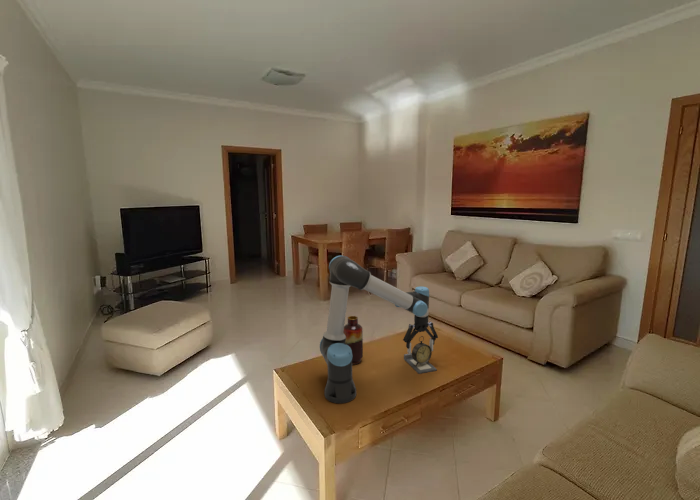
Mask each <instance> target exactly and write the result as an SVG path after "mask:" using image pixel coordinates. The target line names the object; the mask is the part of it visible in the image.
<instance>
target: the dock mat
mask: <svg viewBox="0 0 700 500" xmlns="http://www.w3.org/2000/svg"><path fill="white" fill-rule="evenodd" d="M403 360H404V361H405V362H406V363H407V364H408V365H409V366H410V367H411V368H412V369H413V370H414V371H415V372H416V373H417V374H418V375H421V374H425V373H431V372H436V371H437V370H438V369H437V368H436V367H435V366H434V365H433V364H432V363H430V362H429V361H428V362H429V363H428V362H427V363H425V364H419V363H418V365H417V366H416V364H417V362H416V361H415V360H414V359H413V357H412V352H411V355H410V354H408V353H404V354H403Z"/></svg>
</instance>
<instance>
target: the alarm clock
mask: <svg viewBox="0 0 700 500" xmlns="http://www.w3.org/2000/svg"><path fill="white" fill-rule="evenodd" d="M421 338H423V339H422V340H421ZM424 338H425V337H424V336H423V335H421V336H420V337H419V338H418V341H419V342H418V343H416V344H415V345H414V347H413V348H412V349H411V353H412V357H413V359H414V360H415V361H416V362H417V364H416V366H417V365H418V363H419V364H425V363H427V362H428V363H430V360H431V358H432V352H433V351H431V348H430V346H429V344H426V343H423V341H424V340H425V339H424Z"/></svg>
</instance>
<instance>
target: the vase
mask: <svg viewBox="0 0 700 500" xmlns="http://www.w3.org/2000/svg"><path fill="white" fill-rule="evenodd" d="M363 331H364V330H363V326H362V325H361V324H360V323H359V318H358V316H356V315H350V316H349V315H348V317H347V323H346V324H344V332H343V333H344V334H345V336H346V340H345V345H348V346H349V347H350V348H351V350H352V356H353V357H352V366H353V365H358V364H360V363H361V362H362V359H363V358H364V357H363V356H364V355H363V354H364V351H363V348H364V346H363V345H364V342H363V340H364V339H363V338H364V337H363Z"/></svg>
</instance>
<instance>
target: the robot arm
mask: <svg viewBox="0 0 700 500" xmlns="http://www.w3.org/2000/svg"><path fill="white" fill-rule="evenodd" d="M328 270H329V284H330V285H331V292H330V299H329V309H328V316H327V326H326V331H325V332H323V334H322V337H321V338H322V339H321V340H320V342H319V351H320V353H321V356H322V357H323V359H324V361H325V363H326V365H327V366H326V367H327V381H326V385H325V387H324V397H325V399H326V400H327V401H328V402H331V403H334V404H346V403H349V402H351V401H353V400H354V399H355V398H356V396H357V388H356V384H355V382H354V380H353V365H352V357H353V356H352V350H351V348H350V347H349V346H348V345H345V340H346V336H345V334H344V333H343V332H344V326H345V325H346V324H345V322H346V314H347V306H348V299H349V290H350V287H352V288H355V289H358V290H359V291H363V290H365V291H367V292H369V293H371V294H372V295H375V296H377V297H379V298H381V299H382V300H385V301H387V302H389V303H392V304H394V306H395V307H396V308H402V309H403V310H405V311H408V312H409V313H411V314H413V316H414V318H413V319H414V321H413V322H414V323H413V324H411V323H409V324H408V329H407V331H406V333H405V335H404V336H403V339H402V341H403V342H404V343H406V344H405V347H406V348H407V353H406V354H410V355H411V353H412V342H411V341H412V340H413V339H414V338H415V337H416V335H417V334H418V333H422V332H423V333H425V332H426V334H427V335H428V336H429V337H430V338H429V344H428V346H430V348H431V351H432V352H434V345H435V341H436V339H438V338H439V337H438V334H437V331H436V329H435V327H434V323H433V322H432V321H429V312H430V311H429V308H430V307H429V306H430V289H429V288H428V287H427V286H421V285H420V286H416V287H414V291H403V290H402V289H399V287H398V288H397V287H395V286H394V285H392V284H390V283H388V282H386V281H383V280H382V279H380V278H378V277H376V276H374V275H372V273H371V271H369V270H367V269H365V268H364V267H362V266H361V265H360V264H358V263H357V262H356V261H354V260H353V259H351V258H350V257H348V256H345V255H336V256H335V257H333V258H332V259H331V260H330V262H329V265H328ZM428 327H429V328H428ZM429 329H430V330H431V331H430V330H429Z"/></svg>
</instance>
